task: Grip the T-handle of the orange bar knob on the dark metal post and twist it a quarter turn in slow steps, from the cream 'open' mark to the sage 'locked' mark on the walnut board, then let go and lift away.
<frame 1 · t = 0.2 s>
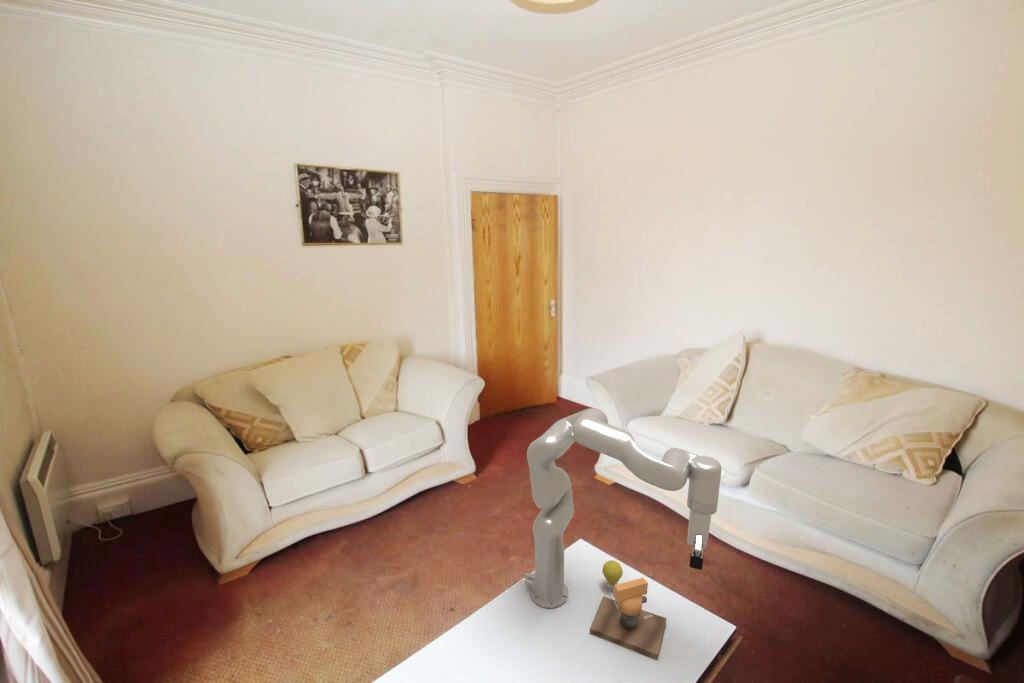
hand: (696, 556, 130), 31 cm above the table, tool pointing down, fingers open, 9 cm apart
light bulb: (611, 588, 160), on the table
post board: (628, 628, 144), on the table
orange bar knob: (631, 595, 141), point 12 cm above the table, hinge at 0.0°
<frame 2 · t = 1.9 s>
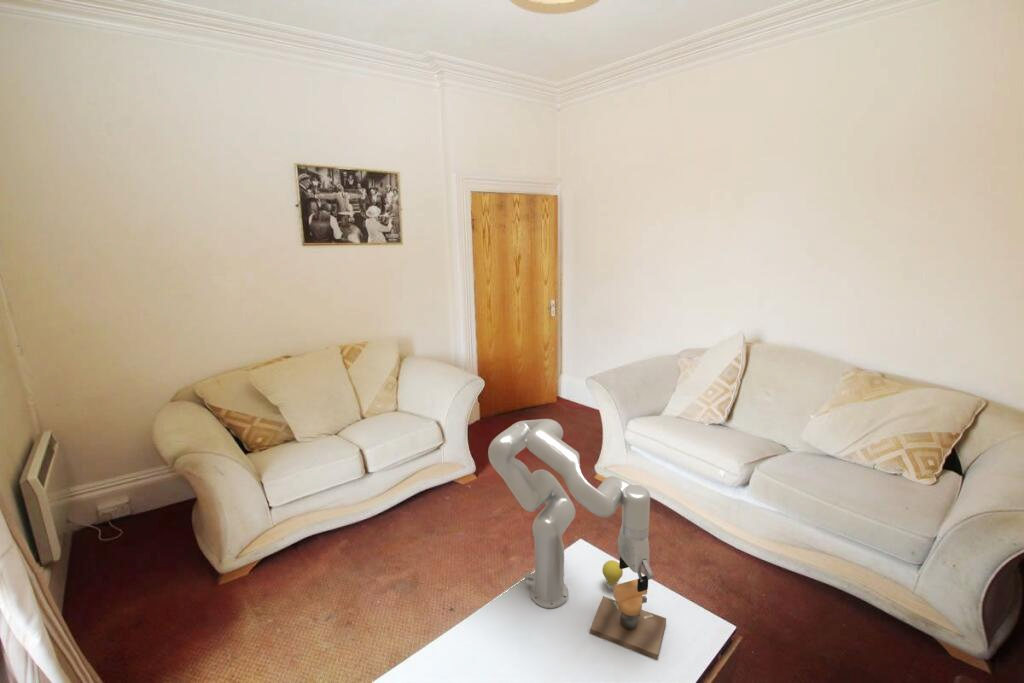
hand: (633, 578, 139), 19 cm above the table, tool pointing down, fingers open, 9 cm apart
nothing on the table moved.
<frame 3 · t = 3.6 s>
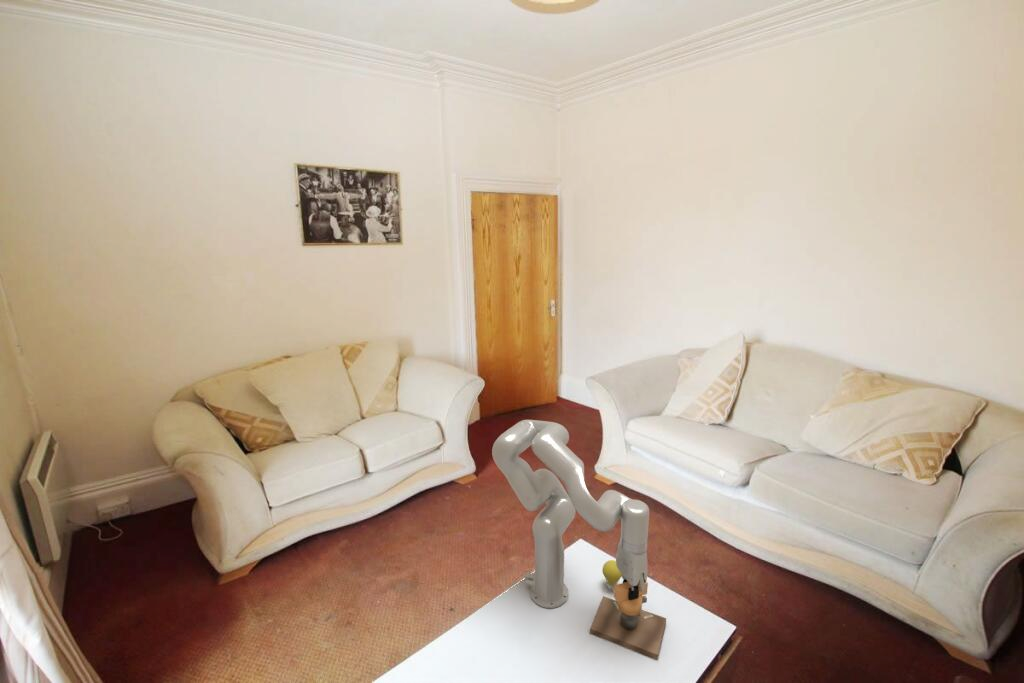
hand: (630, 594, 141), 13 cm above the table, tool pointing down, fingers closed on orange bar knob, 2 cm apart
orange bar knob: (631, 595, 141), point 12 cm above the table, hinge at 0.0°, touching gripper
everything else where it was.
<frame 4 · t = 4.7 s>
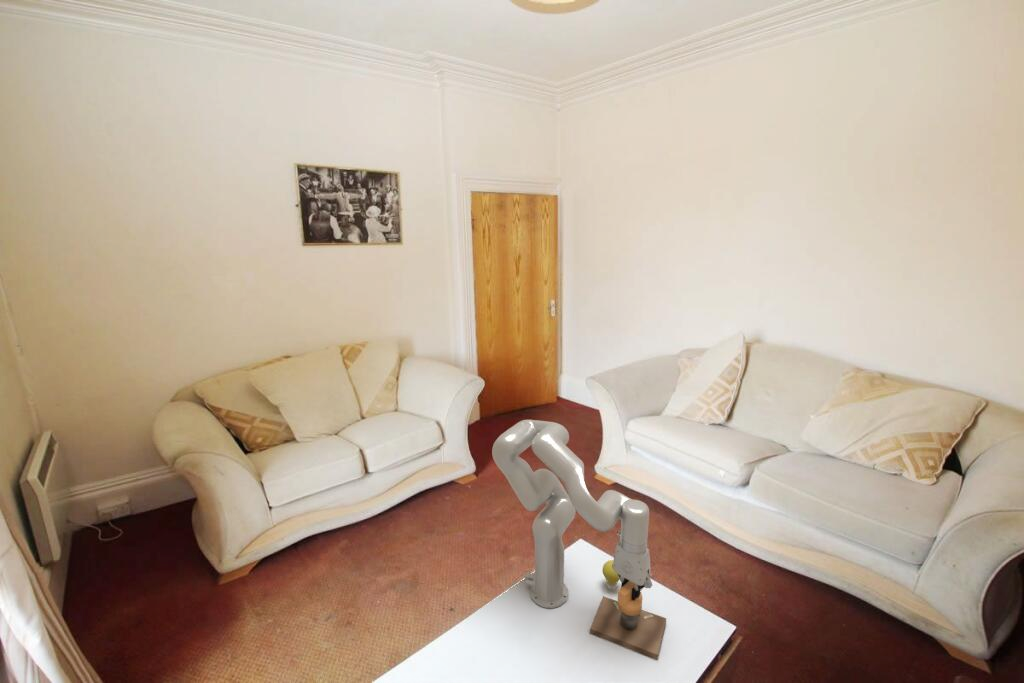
hand: (630, 594, 141), 13 cm above the table, tool pointing down, fingers closed on orange bar knob, 2 cm apart
orange bar knob: (630, 594, 141), point 12 cm above the table, hinge at 25.7°, touching gripper
everything else where it was.
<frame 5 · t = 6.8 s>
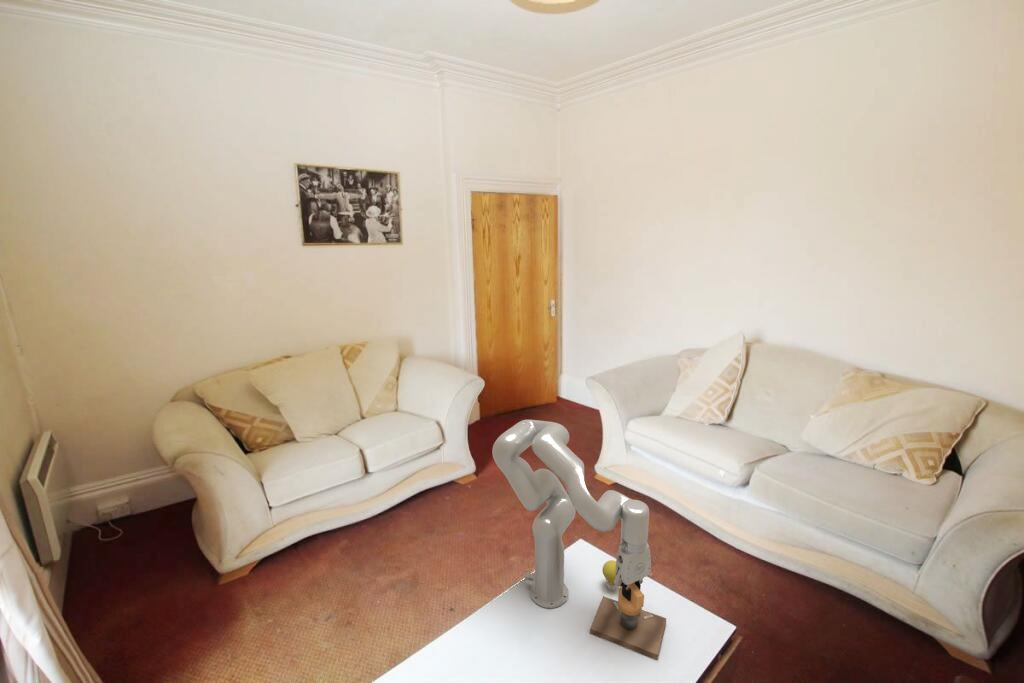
hand: (630, 594, 140), 13 cm above the table, tool pointing down, fingers closed on orange bar knob, 3 cm apart
orange bar knob: (629, 594, 141), point 12 cm above the table, hinge at 90.8°, touching gripper
everything else where it was.
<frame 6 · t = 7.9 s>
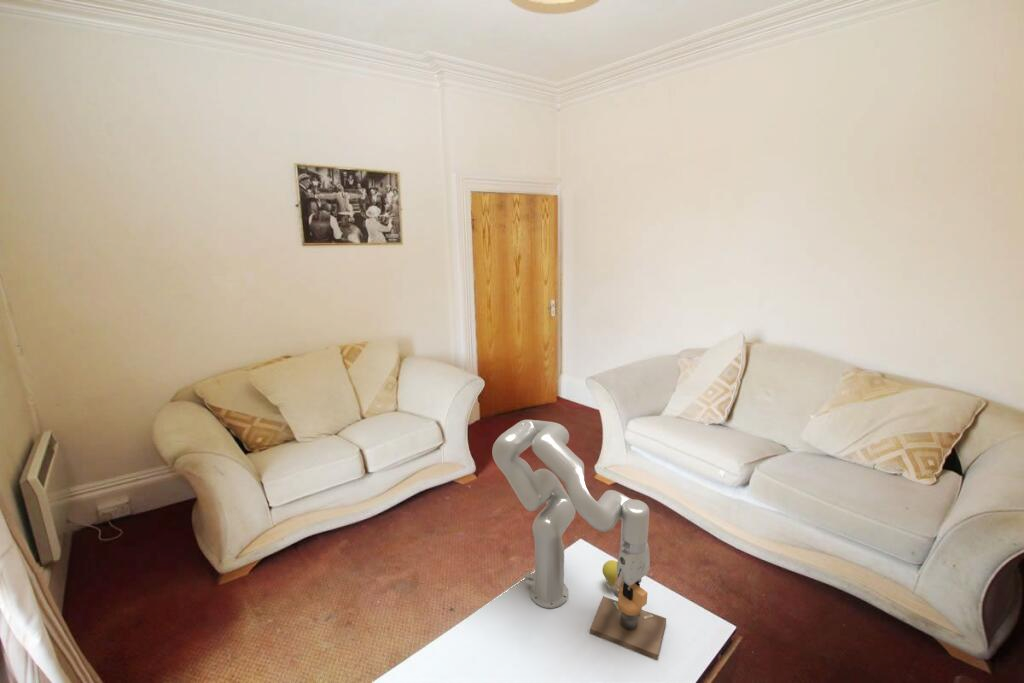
hand: (630, 594, 140), 13 cm above the table, tool pointing down, fingers closed on orange bar knob, 2 cm apart
orange bar knob: (629, 594, 141), point 12 cm above the table, hinge at 109.6°, touching gripper
everything else where it was.
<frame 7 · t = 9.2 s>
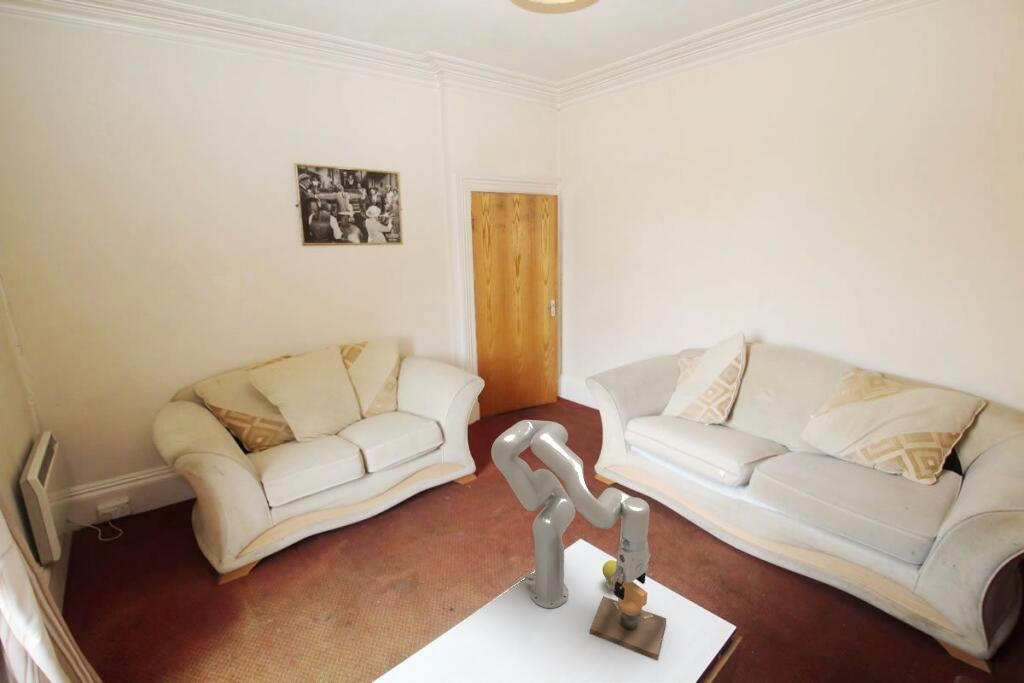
hand: (629, 588, 140), 15 cm above the table, tool pointing down, fingers open, 9 cm apart
orange bar knob: (629, 594, 141), point 12 cm above the table, hinge at 108.6°
everything else where it was.
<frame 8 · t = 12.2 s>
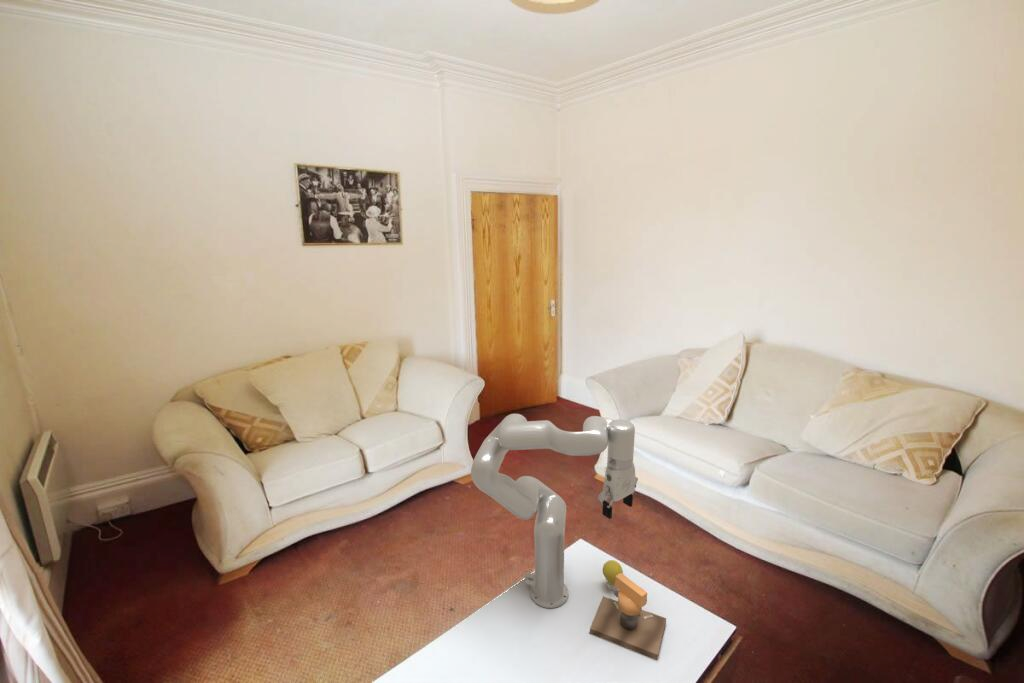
hand: (617, 510, 145), 34 cm above the table, tool pointing down, fingers open, 9 cm apart
nothing on the table moved.
at the end: orange bar knob at +108° (first picture: +0°); light bulb moved 0.2 cm from its start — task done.
